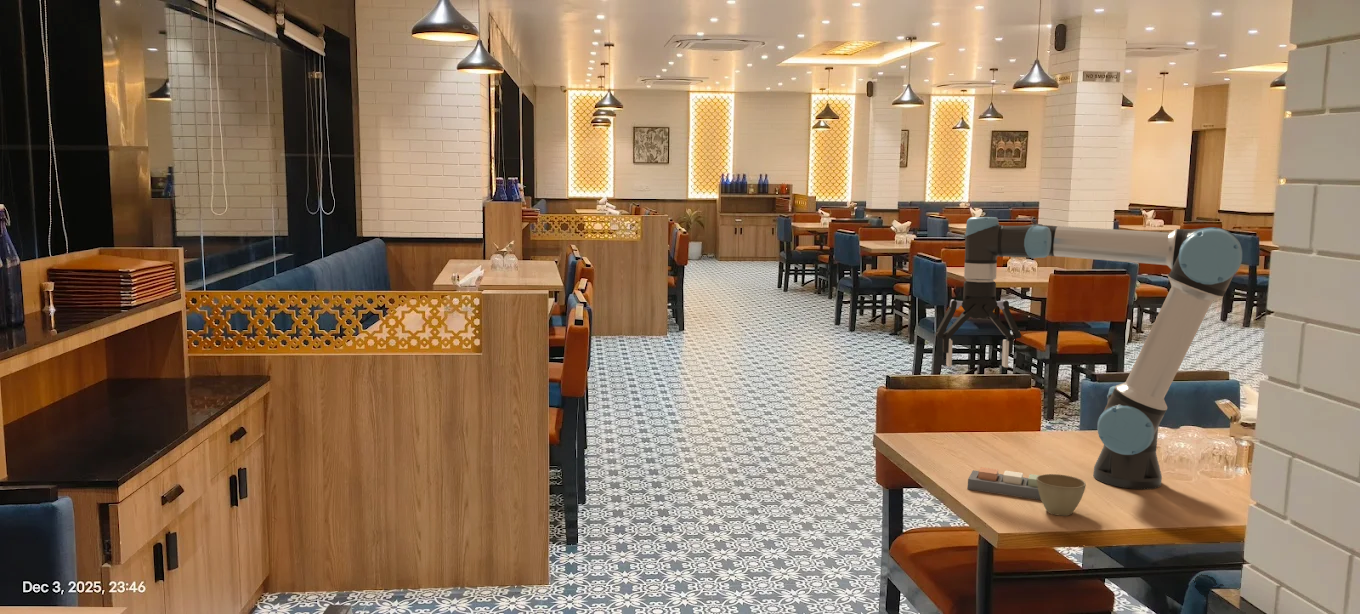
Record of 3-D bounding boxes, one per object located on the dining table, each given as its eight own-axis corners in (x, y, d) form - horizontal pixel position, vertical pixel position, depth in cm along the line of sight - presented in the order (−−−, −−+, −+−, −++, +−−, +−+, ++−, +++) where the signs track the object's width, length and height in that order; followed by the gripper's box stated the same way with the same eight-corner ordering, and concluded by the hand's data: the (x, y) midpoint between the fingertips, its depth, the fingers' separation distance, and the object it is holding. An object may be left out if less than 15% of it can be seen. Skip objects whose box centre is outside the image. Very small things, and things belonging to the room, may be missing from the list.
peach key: (997, 479, 230) (998, 469, 230) (995, 484, 226) (996, 473, 226) (980, 477, 232) (980, 467, 231) (977, 481, 228) (978, 471, 228)
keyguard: (1056, 492, 227) (1057, 482, 226) (1054, 502, 219) (1055, 491, 219) (972, 479, 234) (972, 470, 234) (967, 488, 227) (968, 478, 227)
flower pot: (1071, 504, 218) (1073, 473, 217) (1091, 520, 208) (1094, 487, 207) (1027, 504, 218) (1029, 473, 217) (1045, 519, 208) (1047, 487, 207)
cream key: (1022, 483, 228) (1023, 473, 227) (1020, 488, 224) (1021, 477, 224) (1004, 480, 229) (1005, 470, 229) (1002, 485, 226) (1003, 474, 225)
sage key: (1047, 487, 225) (1048, 476, 225) (1045, 491, 222) (1046, 481, 222) (1028, 484, 227) (1029, 473, 227) (1027, 489, 223) (1028, 478, 223)
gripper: (1027, 279, 241) (1023, 364, 243) (925, 278, 242) (922, 363, 244) (1036, 282, 233) (1033, 369, 236) (931, 281, 235) (928, 368, 237)
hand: (976, 366), depth 240 cm, fingers open, 13 cm apart
